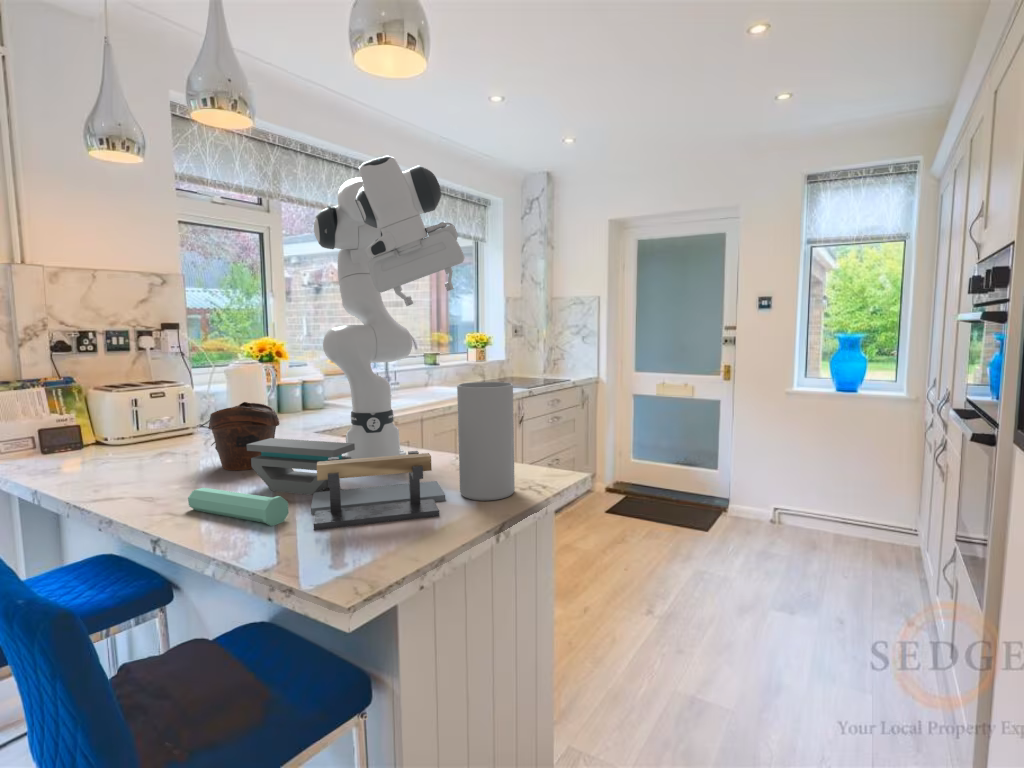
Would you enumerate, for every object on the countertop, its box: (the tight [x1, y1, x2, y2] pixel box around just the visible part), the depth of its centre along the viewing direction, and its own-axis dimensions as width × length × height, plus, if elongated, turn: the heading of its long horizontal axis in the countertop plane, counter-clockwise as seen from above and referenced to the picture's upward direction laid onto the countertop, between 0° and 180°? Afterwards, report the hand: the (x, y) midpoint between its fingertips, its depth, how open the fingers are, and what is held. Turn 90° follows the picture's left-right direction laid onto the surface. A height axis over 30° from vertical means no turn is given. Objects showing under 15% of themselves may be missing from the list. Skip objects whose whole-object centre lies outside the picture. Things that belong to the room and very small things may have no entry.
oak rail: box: [316, 452, 432, 481], centre depth 113 cm, size 3×22×3 cm, turn 107°
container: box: [187, 487, 290, 527], centre depth 116 cm, size 6×6×25 cm
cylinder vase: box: [456, 381, 516, 502], centre depth 128 cm, size 12×12×25 cm
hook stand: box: [313, 450, 440, 531], centre depth 114 cm, size 8×24×12 cm, turn 107°
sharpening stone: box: [246, 438, 355, 496], centre depth 135 cm, size 25×8×11 cm, turn 70°
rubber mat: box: [310, 480, 446, 515], centre depth 126 cm, size 12×28×1 cm, turn 107°
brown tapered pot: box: [208, 401, 280, 471], centre depth 160 cm, size 18×20×18 cm
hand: (430, 297), depth 123 cm, fingers open, 8 cm apart
